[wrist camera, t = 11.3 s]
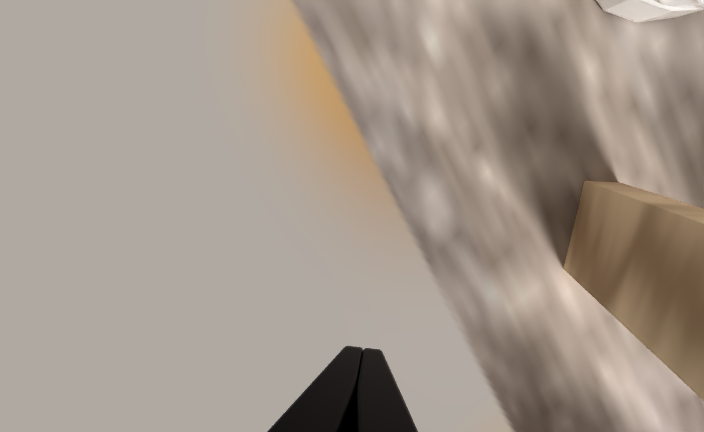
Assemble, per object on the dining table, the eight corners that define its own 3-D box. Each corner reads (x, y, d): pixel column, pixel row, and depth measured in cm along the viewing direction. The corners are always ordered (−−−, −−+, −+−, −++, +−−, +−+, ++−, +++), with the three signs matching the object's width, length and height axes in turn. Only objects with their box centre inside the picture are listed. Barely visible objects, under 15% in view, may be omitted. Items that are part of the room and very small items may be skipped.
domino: (594, 271, 18) (768, 410, 10) (563, 268, 18) (706, 404, 10) (618, 182, 17) (851, 254, 8) (584, 180, 17) (776, 250, 8)
